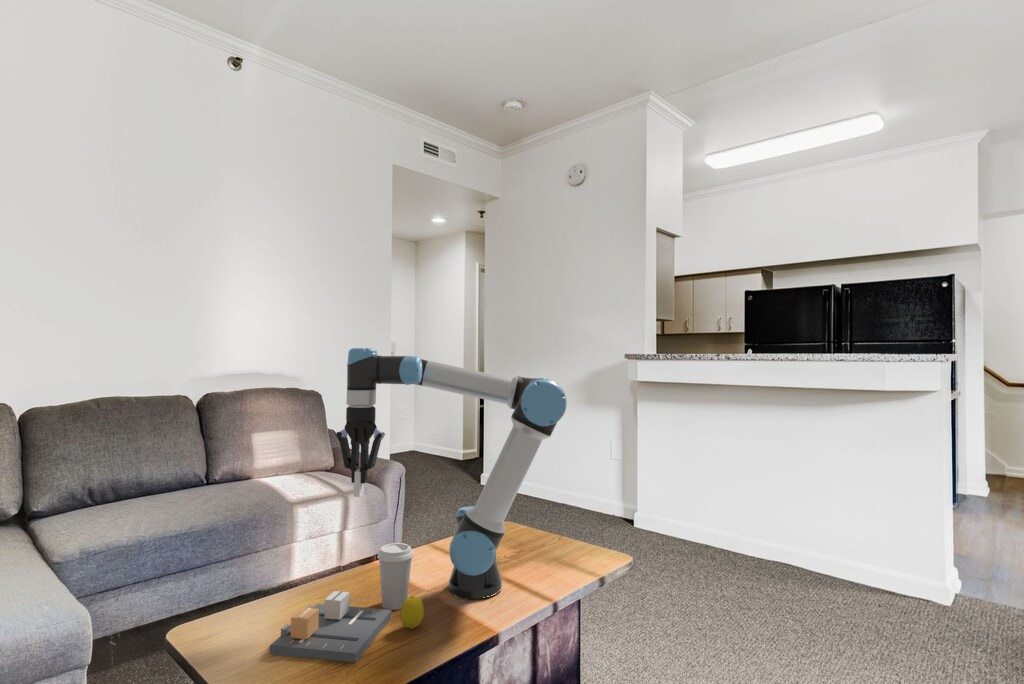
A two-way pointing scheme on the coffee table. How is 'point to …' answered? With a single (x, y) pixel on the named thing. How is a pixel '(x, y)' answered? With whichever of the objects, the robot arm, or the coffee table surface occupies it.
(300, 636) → the fader orange
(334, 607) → the fader grey
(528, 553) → the coffee table surface
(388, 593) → the coffee cup
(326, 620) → the console
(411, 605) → the lemon
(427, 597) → the coffee table surface
